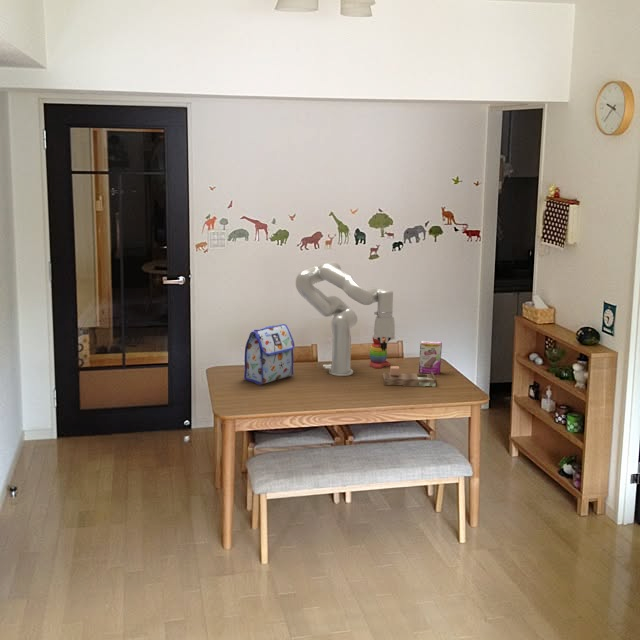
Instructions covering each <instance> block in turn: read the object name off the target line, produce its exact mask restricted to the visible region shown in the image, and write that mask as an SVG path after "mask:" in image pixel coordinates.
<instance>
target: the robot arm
mask: <svg viewBox="0 0 640 640" xmlns="http://www.w3.org/2000/svg"><path fill="white" fill-rule="evenodd" d="M324 281H326V282H328V283H330V284H331V285H333V286H335V287H337V288H339V289H341V290H342V291H343V292H344V293H345V294H346V295H347V296H348V297H349V298H351V299H352V300H354V301H356V302H357V303H359V304H361V305H363V306H370V305H372V304H374V303H377V311H374V315H375V319H374V327H373V335H374V336H372V339H373V338H374V339H378V340H379V341H380V342H381V349H382V351H385V349H388V342H389V341H391V340H395V339H396V337H395V333H396V329H395V328H396V327H395V317H394V316H393V312H394V311H393V309H394V291H393V290H391V289H382V288H377V287H374V286H373V287H369V288H367V289H364V288H363V287H361V286H359V284H357V283H356V282H355V281H354V280H353V276H352V275H351V274H350V273H348V272H346V271H344V270H342V267H341V265H340V264H339V263H338V262H337V261H334V260H332V261H328V262H325V263H322V264H319V265H315V266H312V267H309V268H306V269H303V270H301V271H300V272H299V273H297V276H296V278H295V288H296V290H297V292H298V294H299V295H300V296H301V297H302V298H303V299H305V300H306V301H307V302H308V303H309V304H310V306H312V307H313V308H314V309H315V310H316V311H317V312H318V313H319V315H321V316H323V317H325V318H329V317H332V316H333V318H332V320H331V323H330V324H331V327H330V328H331V334H332V335H331V337H332V338H331V339H332V342H331V343H332V346H331V351H332V352H331V356H332V357H331V363H329V364H323V365H322V368H323V369H325V370H328V373H329V375H331V376H335V377H348V376H351V375H353V374H354V370H353V369H352V368H351V359H352V358H351V357H352V356H351V354H352V351H351V350H352V336H351V335H352V334H351V329H352V328H353V327H354V326H356V324H357V323H358V316H357V314H356V312H355V311H354V310H353V309H352V308H351V307H350V306H349V305H348V304H347V303H345V301H343V299H342V298H340V297H338V296H336V295H330V296H327V295H326V294H324V293H323V292H322V291H321V290H320V288H318V287H315V286H314V285H315V284H317V283H320V282H324ZM382 338H385V341H384V342H383V339H382Z"/></svg>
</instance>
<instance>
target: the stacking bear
mask: <svg viewBox="0 0 640 640" xmlns="http://www.w3.org/2000/svg"><path fill="white" fill-rule="evenodd" d="M373 336H374V334H373ZM373 336H372V342H373V343H372V344H371V346H370V348H369V354H368V355H369V359H370V361H369V366H370V367H371V368H374V369H378V368H379V369H382V368H384V366H386V367H390V366H391V362H390V361H387V356H388V350H387V349H388V348H387V349H385V351H382V349H381V342H380V341H379V340H378V339H374V338H373ZM382 339H383V342H384V341H385V338H382ZM389 365H390V366H389Z"/></svg>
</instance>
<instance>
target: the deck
mask: <svg viewBox="0 0 640 640" xmlns="http://www.w3.org/2000/svg"><path fill="white" fill-rule="evenodd" d="M382 377H383V378H384V379H383V378H382V379H383V383H384V384H385V385H403V386H402V387H425V386H432V388H434V387H435V388H436V384H437V379H436V376H435V374H433V371H431V374H424V373H404V372H403V373H400V372H399V376H396V375H393V376H391V375H390V372H383V373H382ZM385 385H384V386H385Z"/></svg>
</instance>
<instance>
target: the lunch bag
mask: <svg viewBox="0 0 640 640" xmlns="http://www.w3.org/2000/svg"><path fill="white" fill-rule="evenodd" d="M249 333H250V334H249V336H248V338H247V341H246V344H245V347H244V358H243V359H244V375H243V378H244V380H246V381H248V382H252V383H255V384H257V385H260V386H262V385H264V384H268V383H270V382H274V381H278V380H281V379H285V378H288V377H292V376H294V349H295V341H294V338H293V336H292V334H291V332H290V329H289V327H288V326H287V324H284V323H283V324H278V325H271V326H270V325H269V326H265V327H263V328H260V329H254V330H253V331H251V332H249Z"/></svg>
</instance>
